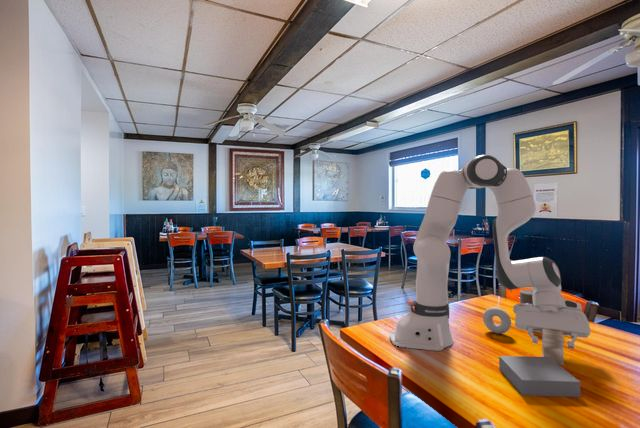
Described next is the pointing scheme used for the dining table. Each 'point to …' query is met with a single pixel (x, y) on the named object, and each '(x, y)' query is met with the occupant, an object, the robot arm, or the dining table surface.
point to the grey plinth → (539, 376)
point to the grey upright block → (553, 345)
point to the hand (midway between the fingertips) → (552, 345)
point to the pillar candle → (526, 296)
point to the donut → (501, 314)
